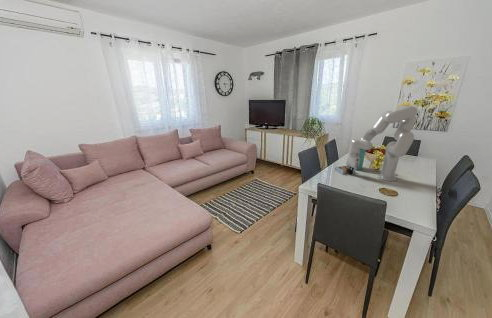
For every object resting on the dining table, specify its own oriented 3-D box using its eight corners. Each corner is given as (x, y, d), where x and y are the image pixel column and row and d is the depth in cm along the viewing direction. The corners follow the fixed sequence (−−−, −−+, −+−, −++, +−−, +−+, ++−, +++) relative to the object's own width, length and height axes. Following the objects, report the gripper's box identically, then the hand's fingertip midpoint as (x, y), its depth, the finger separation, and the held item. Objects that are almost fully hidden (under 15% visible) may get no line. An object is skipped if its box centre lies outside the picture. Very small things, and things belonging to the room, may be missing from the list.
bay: (346, 169, 186) (347, 165, 185) (354, 173, 177) (355, 169, 176) (334, 170, 183) (335, 166, 182) (342, 174, 174) (343, 170, 173)
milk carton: (362, 168, 187) (367, 143, 179) (355, 170, 184) (360, 144, 176) (354, 165, 195) (358, 141, 187) (347, 167, 192) (351, 142, 183)
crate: (345, 170, 182) (346, 165, 181) (350, 173, 177) (351, 168, 175) (340, 171, 181) (341, 166, 179) (345, 173, 176) (345, 168, 174)
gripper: (364, 156, 162) (360, 176, 168) (351, 151, 175) (347, 170, 181) (357, 157, 160) (353, 177, 166) (344, 151, 174) (340, 171, 180)
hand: (350, 173), depth 174 cm, fingers closed
